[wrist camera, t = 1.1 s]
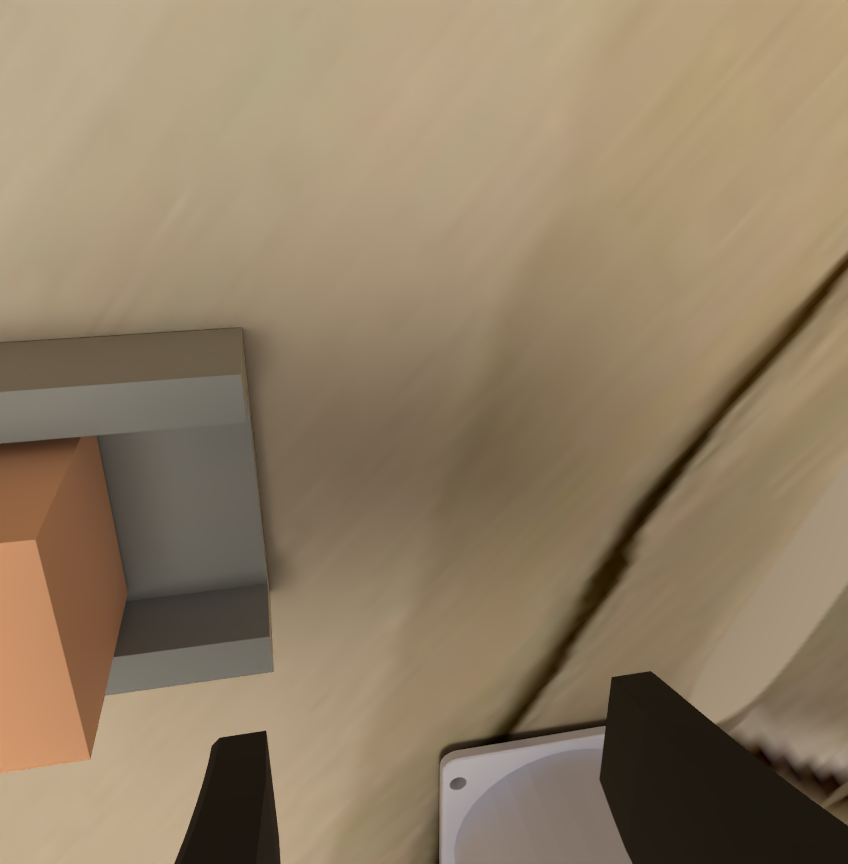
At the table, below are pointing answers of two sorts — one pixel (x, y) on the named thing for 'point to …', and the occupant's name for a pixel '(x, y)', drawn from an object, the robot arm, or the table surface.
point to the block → (55, 600)
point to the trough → (163, 490)
